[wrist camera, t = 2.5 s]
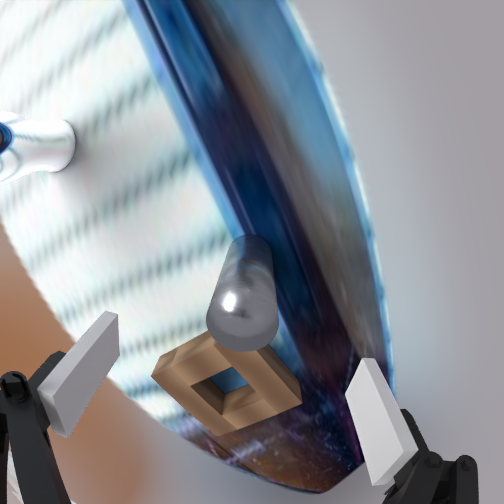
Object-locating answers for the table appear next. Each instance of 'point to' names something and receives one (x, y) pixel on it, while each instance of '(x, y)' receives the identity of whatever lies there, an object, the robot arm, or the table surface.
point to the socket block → (235, 402)
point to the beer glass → (33, 146)
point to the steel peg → (245, 297)
